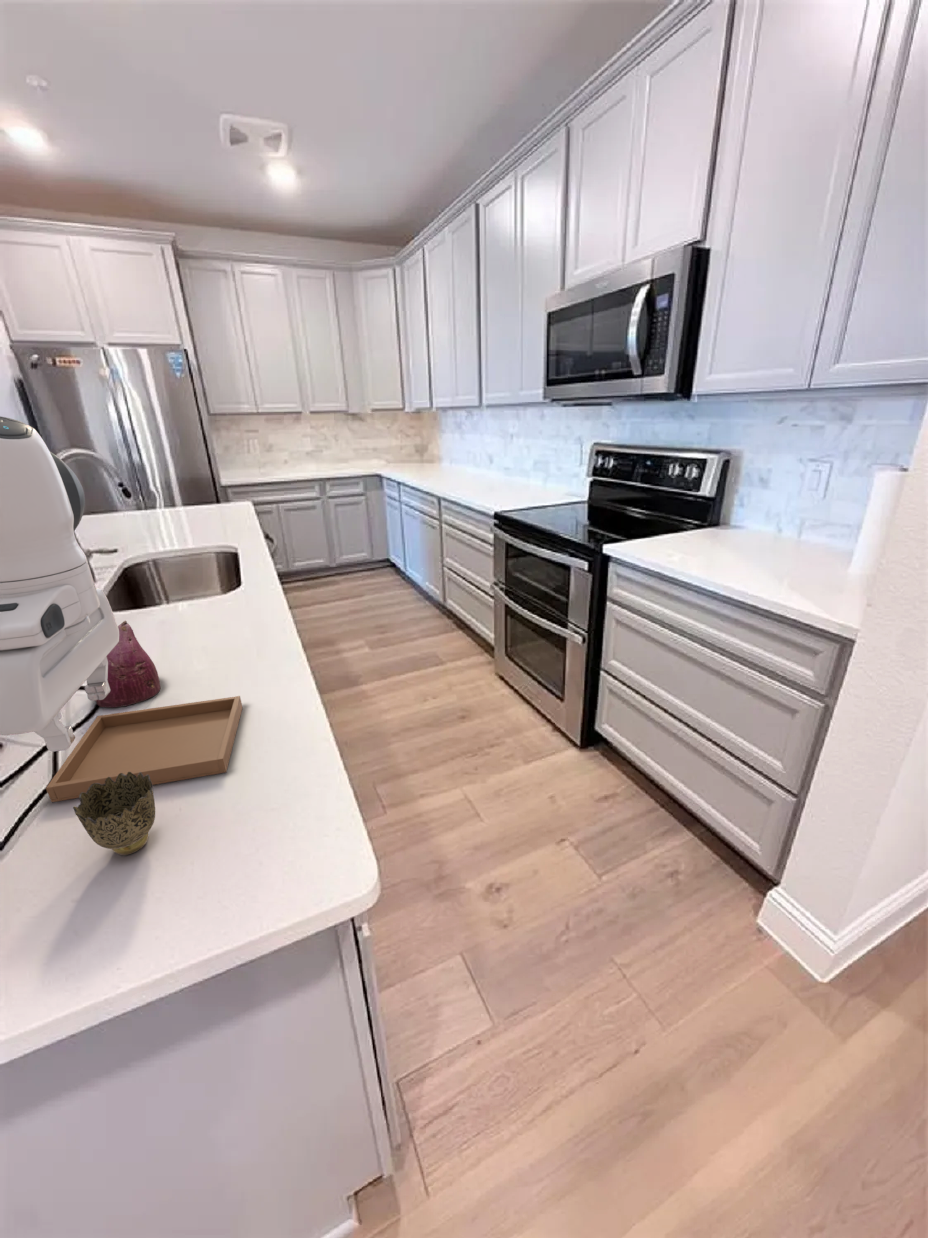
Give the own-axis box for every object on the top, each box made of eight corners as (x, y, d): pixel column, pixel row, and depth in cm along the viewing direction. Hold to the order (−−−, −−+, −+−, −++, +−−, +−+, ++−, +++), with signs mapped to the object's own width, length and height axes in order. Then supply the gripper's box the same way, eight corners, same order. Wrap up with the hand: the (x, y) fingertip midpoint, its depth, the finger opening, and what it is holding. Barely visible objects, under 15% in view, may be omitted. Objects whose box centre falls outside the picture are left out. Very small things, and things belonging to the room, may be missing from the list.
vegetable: (147, 690, 100) (144, 615, 98) (172, 699, 94) (168, 619, 92) (84, 701, 92) (79, 619, 90) (106, 712, 86) (101, 624, 84)
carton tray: (51, 802, 67) (45, 788, 66) (101, 728, 83) (97, 715, 82) (226, 772, 72) (222, 758, 71) (242, 707, 88) (240, 695, 87)
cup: (158, 862, 58) (140, 808, 55) (84, 879, 56) (61, 823, 53) (173, 816, 65) (157, 765, 61) (107, 829, 63) (88, 777, 60)
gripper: (53, 569, 57) (89, 677, 62) (-73, 645, 39) (-7, 789, 44) (116, 564, 58) (146, 670, 64) (24, 636, 40) (76, 776, 45)
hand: (83, 719), depth 54 cm, fingers open, 8 cm apart
